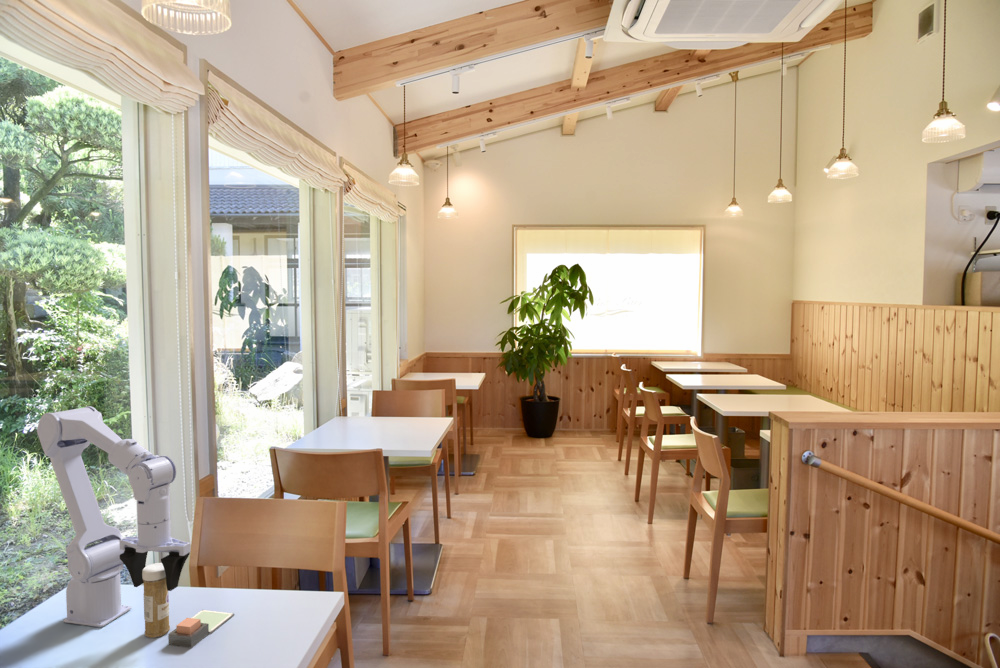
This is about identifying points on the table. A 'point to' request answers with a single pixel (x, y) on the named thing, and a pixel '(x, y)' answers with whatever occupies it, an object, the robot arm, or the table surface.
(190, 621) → the button
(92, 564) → the robot arm
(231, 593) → the table surface
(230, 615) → the picture board
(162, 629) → the sprinkles bottle
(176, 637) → the button housing
